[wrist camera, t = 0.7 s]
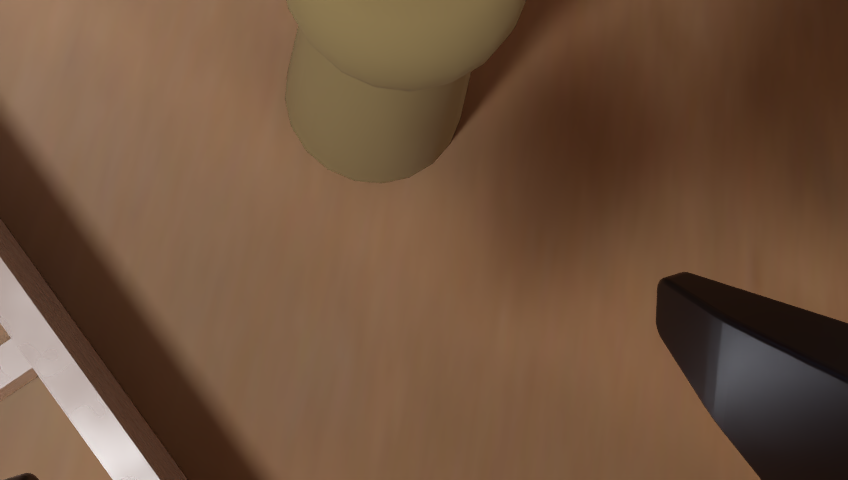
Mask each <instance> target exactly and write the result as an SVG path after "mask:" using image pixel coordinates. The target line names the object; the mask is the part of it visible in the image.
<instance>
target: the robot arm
mask: <svg viewBox="0 0 848 480" xmlns="http://www.w3.org/2000/svg"><path fill="white" fill-rule="evenodd" d="M656 325H657V329H658V332H659V335H660V337H661V338H662V340H663V342H664V343H665V345H666V346H667V348H668V350H669V351H670V353H671V354H672V356H673V357H674V359H675V361H676V362H677V364H678V365H679V367H680V368H681V370H682V372H683V373H684V375H685V376H686V378H687V379H688V381H689V383H690V384H691V386H692V387H693V389H694V390H695V392H696V394H697V395H698V397H699V398H700V400H701V401H702V403H703V405H704V406H705V408H706V409H707V411H708V412H709V413H710V415H711V416H712V418H713V419H714V420H715V422H716V423H717V424H718V426H719V427H720V428H721V430H722V431H723V432H724V433H725V435H726V436H727V437H728V438H729V440H730V441H731V442H732V444H733V445H734V446H735V447H736V449H737V450H738V451H739V452H740V454H741V455H742V456H743V457H744V459H745V460H746V461H747V462H748V464H749V465H750V466H751V467H752V469H753V470H754V471H755V472H756V474H757V475H758V476H759V477H760V479H761V480H848V323H845V322H842V321H839V320H836V319H833V318H830V317H826V316H823V315H820V314H817V313H814V312H811V311H808V310H804V309H801V308H798V307H795V306H792V305H789V304H786V303H783V302H779V301H776V300H773V299H770V298H767V297H764V296H761V295H757V294H754V293H751V292H748V291H745V290H742V289H739V288H735V287H732V286H729V285H726V284H723V283H720V282H717V281H714V280H710V279H707V278H704V277H701V276H698V275H695V274H692V273H688V272H682V273H678V274H675V275H671V276H668V277H665V278H663V279H661V280H660V281H659V283H658V287H657V306H656ZM5 480H39V479H38V478H37V477H36V476H35V475H33V474H31V473H24V474H21V475H18V476H14V477H11V478H8V479H5Z"/></svg>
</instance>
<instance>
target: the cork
mask: <svg viewBox="0 0 848 480" xmlns="http://www.w3.org/2000/svg"><path fill="white" fill-rule="evenodd" d="M286 1H287V6H288V9H289V11H290V12H291V14H292V16H293V17H294V19H295V21H296V22H297V24H298V29H297V34H296V38H295V42H294V46H293V51H292V55H291V59H290V64H289V68H288V73H287V83H286V94H285V101H286V106H287V110H288V114H289V118H290V123H291V127H292V128H293V130H294V132H295V133H296V135H297V136H298V138H299V140H300V141H301V143H302V145H303V146H304V148H305V150H306V151H307V152H308V153H310V154H311V155H312V156H313V157H314V158H315V159H316V160H318V161H319V162H320V163H321V164H322V165H323V166H325V167H326V168H327V169H328V170H331V171H333V172H335V173H338V174H340V175H342V176H345V177H347V178H349V179H352V180H354V181H364V182H374V183H385V182H390V181H395V180H399V179H404V178H409V177H411V176H412V175H414V174H416V173H417V172H419V171H421V170H422V169H424V168H426V167H428V166H429V165H431V164H433V162H434V161H435V160H436V159H437V158H438V157H439V156H440V154H441V153H442V152H443V151H444V150H445V149H446V148H447V146H448V145H449V144H450V142H451V140H452V137H453V135H454V133H455V130H456V128H457V125H458V123H459V121H460V117H461V113H462V109H463V105H464V100H465V96H466V92H467V87H468V83H469V79H470V75H471V71H473V70H474V69H476V68H478V67H480V66H481V65H483V64H484V63H485V62H486V61H487V60H488V59H489V58H490V57H491V55H492V54H493V53H494V52H495V51H496V50H497V49H498V47H499V46H500V45H501V44H502V43H503V42H504V41H505V39H506V38H507V37H508V36H509V34H510V33H511V32H512V30H513V29H514V28H515V26H516V24H517V21H518V19H519V16H520V14H521V12H522V9H523V7H524V4H525V2H526V0H286Z"/></svg>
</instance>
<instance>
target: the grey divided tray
mask: <svg viewBox="0 0 848 480" xmlns="http://www.w3.org/2000/svg"><path fill="white" fill-rule="evenodd" d="M0 323H1V325H2V326H3V327H4V329H5V330H6V332H7V333H8V334H9V336H10V337H11V339H10V340H8V341H7V342H5V343H4V344H2V345H1V346H0V401H2V400H3V399H5V398H6V397H8V396H9V395H11V394H12V393H14V392H15V391H17V390H18V389H20V388H21V387H23V386H24V385H26V384H27V383H29V382H30V381H32V380H33V379H35V378H36V377H38V376H39V378H40V379H41V380H42V382H43V383H44V384H45V386H46V387H47V389H48V390H49V391H50V393H51V394H52V396H53V397H54V398H55V400H56V401H57V403H58V404H59V405H60V407H61V408H62V410H63V411H64V412H65V414H66V415H67V416H68V418H69V419H70V421H71V422H72V423H73V425H74V426H75V428H76V429H77V430H78V432H79V433H80V435H81V436H82V437H83V439H84V440H85V442H86V443H87V444H88V446H89V447H90V449H91V450H92V451H93V453H94V454H95V455H96V457H97V458H98V460H99V461H100V462H101V464H102V465H103V467H104V468H105V469H106V471H107V472H108V474H109V475H110V476H111V478H112V479H113V480H187V478H186V477H185V475H184V474H183V473H182V471H181V470H180V468H179V467H178V466H177V464H176V463H175V461H174V460H173V459H172V457H171V456H170V454H169V453H168V452H167V450H166V449H165V447H164V446H163V445H162V443H161V442H160V441H159V439H158V438H157V436H156V435H155V434H154V432H153V431H152V429H151V428H150V427H149V425H148V424H147V422H146V421H145V420H144V418H143V417H142V415H141V414H140V413H139V411H138V410H137V408H136V407H135V406H134V404H133V403H132V401H131V400H130V399H129V397H128V396H127V394H126V393H125V392H124V390H123V389H122V388H121V386H120V385H119V383H118V382H117V381H116V379H115V378H114V376H113V375H112V374H111V372H110V371H109V369H108V368H107V367H106V365H105V364H104V362H103V361H102V360H101V358H100V357H99V355H98V354H97V353H96V351H95V350H94V348H93V347H92V346H91V344H90V343H89V341H88V340H87V339H86V337H85V336H84V335H83V333H82V332H81V330H80V329H79V328H78V326H77V325H76V323H75V322H74V321H73V319H72V318H71V316H70V315H69V314H68V312H67V311H66V309H65V308H64V307H63V305H62V304H61V302H60V301H59V300H58V298H57V297H56V295H55V294H54V293H53V291H52V290H51V288H50V287H49V286H48V284H47V283H46V282H45V280H44V279H43V277H42V276H41V275H40V273H39V272H38V270H37V269H36V268H35V266H34V265H33V263H32V262H31V261H30V259H29V258H28V256H27V255H26V254H25V252H24V251H23V249H22V248H21V247H20V245H19V244H18V242H17V241H16V240H15V238H14V237H13V235H12V234H11V233H10V231H9V230H8V229H7V227H6V226H5V224H4V223H3V222H2V220H1V219H0Z"/></svg>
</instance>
